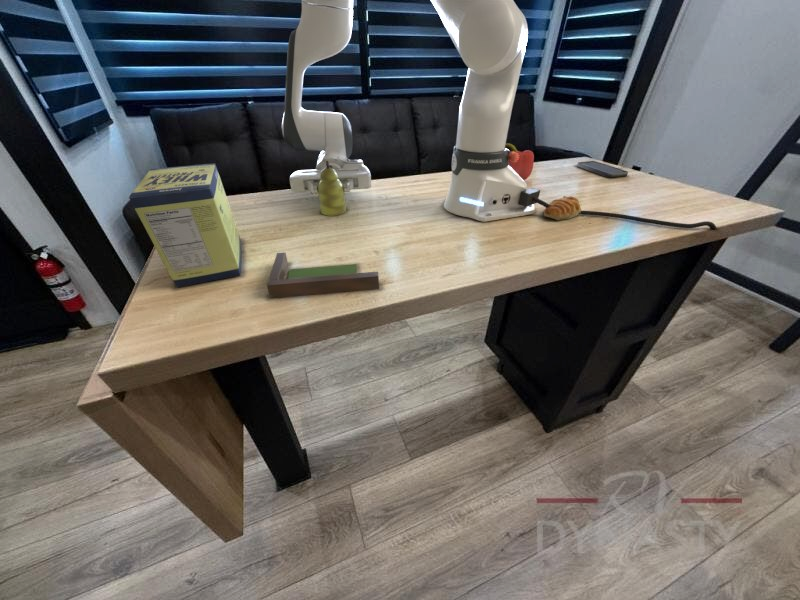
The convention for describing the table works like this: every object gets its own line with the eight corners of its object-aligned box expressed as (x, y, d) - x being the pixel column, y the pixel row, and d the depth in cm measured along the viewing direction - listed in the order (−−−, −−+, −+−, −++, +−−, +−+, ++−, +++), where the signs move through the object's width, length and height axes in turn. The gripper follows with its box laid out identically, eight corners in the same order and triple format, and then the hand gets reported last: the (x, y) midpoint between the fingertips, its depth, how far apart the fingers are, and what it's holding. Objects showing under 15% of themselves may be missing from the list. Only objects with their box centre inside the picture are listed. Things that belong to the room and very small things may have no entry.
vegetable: (487, 179, 100) (493, 145, 94) (506, 173, 106) (512, 140, 100) (518, 188, 94) (526, 151, 88) (536, 180, 99) (545, 145, 93)
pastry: (561, 224, 73) (566, 208, 71) (535, 215, 77) (539, 200, 75) (581, 214, 78) (586, 199, 76) (555, 206, 82) (560, 192, 80)
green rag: (356, 264, 59) (356, 264, 59) (357, 284, 54) (357, 284, 54) (289, 270, 58) (289, 269, 58) (284, 291, 53) (284, 290, 53)
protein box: (241, 239, 68) (215, 161, 58) (242, 276, 56) (210, 187, 47) (186, 248, 64) (149, 167, 55) (175, 289, 53) (126, 196, 44)
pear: (345, 205, 83) (340, 156, 76) (346, 215, 78) (340, 163, 71) (321, 207, 82) (314, 157, 75) (320, 216, 77) (312, 164, 70)
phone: (610, 174, 100) (576, 162, 112) (609, 178, 101) (575, 165, 113) (630, 172, 102) (594, 160, 114) (628, 175, 103) (593, 163, 114)
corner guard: (373, 257, 61) (373, 246, 60) (379, 288, 53) (378, 276, 52) (280, 264, 59) (276, 252, 58) (270, 298, 51) (266, 285, 50)
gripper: (290, 162, 84) (283, 178, 73) (368, 159, 86) (372, 174, 75) (295, 187, 88) (288, 205, 77) (369, 183, 90) (373, 200, 79)
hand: (330, 190), depth 76 cm, fingers closed on pear, 6 cm apart
